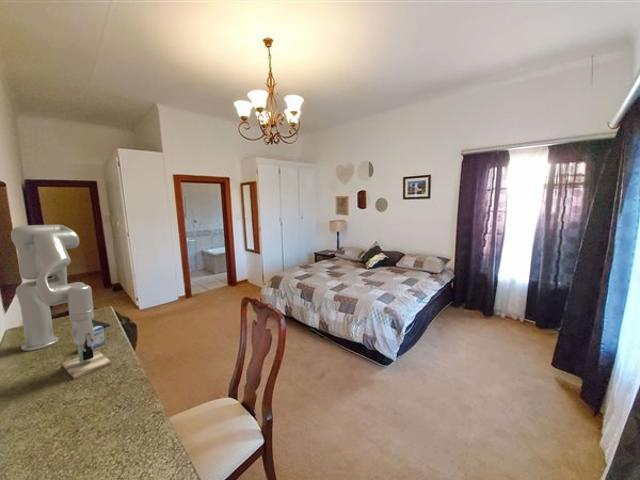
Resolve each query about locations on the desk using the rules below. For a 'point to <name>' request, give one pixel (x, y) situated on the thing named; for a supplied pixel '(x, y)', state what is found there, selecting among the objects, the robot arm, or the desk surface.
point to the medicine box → (98, 336)
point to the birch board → (86, 365)
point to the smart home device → (100, 324)
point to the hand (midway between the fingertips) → (86, 356)
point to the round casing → (80, 349)
